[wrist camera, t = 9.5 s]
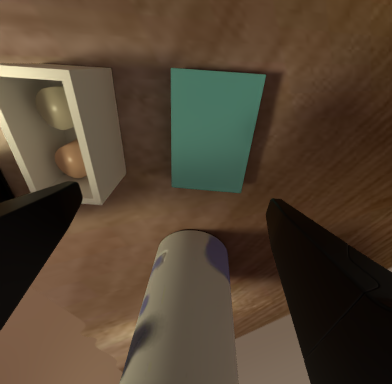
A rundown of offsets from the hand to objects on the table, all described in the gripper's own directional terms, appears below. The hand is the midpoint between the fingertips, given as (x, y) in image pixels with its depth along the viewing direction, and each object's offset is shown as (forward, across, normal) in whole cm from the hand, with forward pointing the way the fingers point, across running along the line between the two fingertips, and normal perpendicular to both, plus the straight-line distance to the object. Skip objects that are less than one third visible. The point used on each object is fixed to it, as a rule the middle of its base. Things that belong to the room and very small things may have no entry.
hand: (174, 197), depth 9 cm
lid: (+11, -2, 0) cm, 11 cm away
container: (+12, -1, +18) cm, 22 cm away
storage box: (+12, +10, 0) cm, 16 cm away
